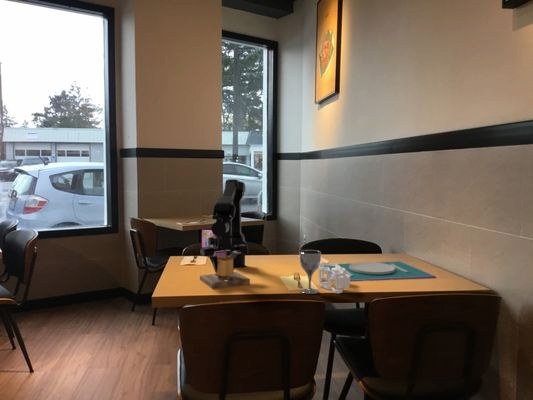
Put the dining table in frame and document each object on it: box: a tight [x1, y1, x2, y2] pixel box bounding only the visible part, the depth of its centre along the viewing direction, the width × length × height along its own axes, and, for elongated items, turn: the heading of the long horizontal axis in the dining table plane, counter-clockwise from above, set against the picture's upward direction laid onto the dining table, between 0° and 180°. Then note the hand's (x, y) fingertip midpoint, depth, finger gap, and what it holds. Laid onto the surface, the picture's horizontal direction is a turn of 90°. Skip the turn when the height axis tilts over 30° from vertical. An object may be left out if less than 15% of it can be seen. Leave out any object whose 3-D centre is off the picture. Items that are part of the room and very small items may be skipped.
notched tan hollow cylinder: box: [215, 256, 234, 276], centre depth 181 cm, size 7×7×6 cm
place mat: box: [321, 260, 436, 282], centre depth 204 cm, size 45×30×2 cm
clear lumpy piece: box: [317, 261, 351, 294], centre depth 176 cm, size 20×11×7 cm, turn 179°
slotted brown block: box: [199, 271, 251, 290], centre depth 181 cm, size 16×14×8 cm
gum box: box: [201, 228, 227, 258], centre depth 235 cm, size 22×7×13 cm, turn 24°
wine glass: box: [299, 249, 322, 295], centre depth 168 cm, size 8×8×15 cm
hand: (224, 271), depth 181 cm, fingers closed on notched tan hollow cylinder, 7 cm apart
